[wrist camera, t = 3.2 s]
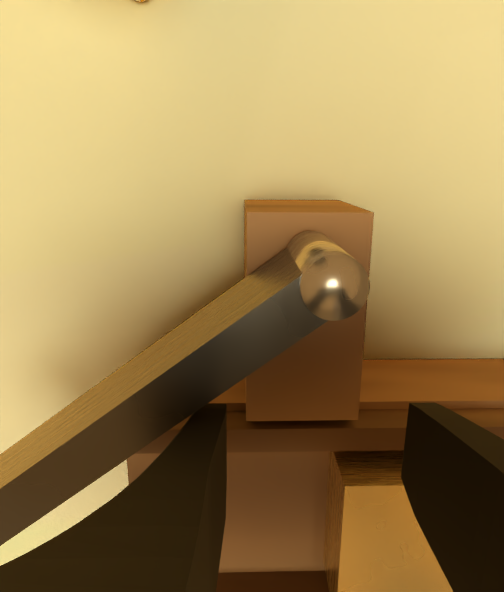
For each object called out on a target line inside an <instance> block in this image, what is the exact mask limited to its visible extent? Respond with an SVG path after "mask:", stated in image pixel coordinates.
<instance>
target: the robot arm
mask: <svg viewBox="0 0 504 592" xmlns="http://www.w3.org/2000/svg"><path fill="white" fill-rule="evenodd" d="M401 479H402V482H403V485H404V488H405V491H406V494H407V497H408V499H409V502H410V505H411V507H412V510H413V513H414V516H415V518H416V520H417V522H418V524H419V526H420V528H421V530H422V532H423V534H424V536H425V538H426V540H427V542H428V544H429V546H430V548H431V550H432V552H433V553H434V555H435V557H436V559H437V561H438V563H439V565H440V567H441V569H442V571H443V573H444V575H445V577H446V579H447V581H448V582H449V584H450V586H451V588H452V590H453V592H504V439H502V438H500V437H499V436H497V435H495V434H493V433H491V432H490V431H488V430H486V429H484V428H482V427H481V426H479V425H477V424H475V423H474V422H472V421H470V420H468V419H466V418H465V417H463V416H461V415H459V414H457V413H455V412H454V411H452V410H450V409H448V408H446V407H444V406H442V405H439V404H437V403H409V409H408V418H407V426H406V435H405V444H404V453H403V462H402V471H401ZM226 491H227V413H226V403H213V404H206V405H205V406H203V407H202V408H200V409H199V410H197V411H196V412H194V413H193V414H192V415H191V416H190V418H189V419H188V421H187V422H186V423H185V425H184V426H183V427H182V429H181V430H180V431H179V432H178V434H177V435H176V436H175V437H174V439H173V440H172V441H171V442H170V443H169V445H168V446H167V447H166V448H165V449H164V450H163V452H162V453H161V454H160V455H159V456H158V457H157V458H156V459H155V460H154V461H153V462H152V463H151V464H150V465H149V466H148V467H147V468H146V469H145V470H144V471H143V472H142V473H141V474H140V475H139V476H138V477H137V478H136V479H135V480H134V481H133V482H132V483H131V484H130V485H128V486H127V487H126V488H125V489H124V490H123V491H121V492H120V493H119V494H118V495H117V496H115V497H114V498H113V499H111V500H110V501H109V502H107V503H106V504H104V505H103V506H102V507H100V508H99V509H97V510H96V511H94V512H93V513H92V514H90V515H89V516H87V517H86V518H84V519H83V520H82V521H80V522H79V523H77V524H76V525H74V526H73V527H71V528H69V529H68V530H66V531H64V532H63V533H61V534H59V535H58V536H56V537H54V538H53V539H51V540H49V541H47V542H46V543H44V544H42V545H40V546H39V547H37V548H35V549H33V550H31V551H30V552H28V553H26V554H24V555H22V556H20V557H18V558H16V559H14V560H12V561H10V562H8V563H6V564H4V565H1V566H0V592H216V587H217V580H218V572H219V565H220V558H221V550H222V543H223V535H224V528H225V520H226Z"/></svg>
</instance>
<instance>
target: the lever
mask: <svg viewBox="0 0 504 592" xmlns="http://www.w3.org/2000/svg"><path fill="white" fill-rule="evenodd" d="M369 289H370V283H369V277H368V274H367V272H366V270H365V269H364V267H363V266H362V265H361V264H360V263H359V262H358V261H357V260H356V259H354V258H353V257H352V256H351V255H349V254H348V253H347V252H346V251H344V250H343V249H342V248H341V247H339V246H338V245H337V244H336V243H335V242H333V241H332V240H331V239H330V238H328V237H327V236H326V235H324V234H323V233H320V232H317V231H305V232H302V233H300V234H298V235H296V236H295V237H294V238H293V239H292V240H291V241H290V242H289V244H288V246H287V248H285V249H284V250H282V251H281V252H280V253H278V254H277V255H276V256H274V257H273V258H271V259H270V260H269V261H267V262H266V263H264V264H263V265H262V266H260V267H259V268H258V269H256V270H255V271H253V272H252V273H251V274H249V275H248V276H247V277H245V278H244V279H242V280H241V281H240V282H238V283H237V284H235V285H234V286H233V287H231V288H230V289H229V290H227V291H226V292H224V293H223V294H222V295H220V296H219V297H217V298H216V299H215V300H213V301H212V302H211V303H209V304H208V305H206V306H205V307H204V308H202V309H201V310H199V311H198V312H197V313H195V314H194V315H193V316H191V317H190V318H188V319H187V320H186V321H184V322H183V323H181V324H180V325H179V326H177V327H176V328H175V329H173V330H172V331H170V332H169V333H168V334H166V335H165V336H163V337H162V338H161V339H159V340H158V341H157V342H155V343H154V344H152V345H151V346H150V347H148V348H147V349H146V350H144V351H143V352H141V353H140V354H139V355H137V356H136V357H134V358H133V359H132V360H130V361H129V362H128V363H126V364H125V365H123V366H122V367H121V368H119V369H118V370H116V371H115V372H114V373H112V374H111V375H110V376H108V377H107V378H105V379H104V380H103V381H101V382H100V383H98V384H97V385H96V386H94V387H93V388H92V389H90V390H89V391H87V392H86V393H85V394H83V395H82V396H80V397H79V398H78V399H76V400H75V401H74V402H72V403H71V404H69V405H68V406H67V407H65V408H64V409H62V410H61V411H60V412H58V413H57V414H56V415H54V416H53V417H51V418H50V419H49V420H47V421H46V422H45V423H43V424H42V425H40V426H39V427H38V428H36V429H35V430H33V431H32V432H31V433H29V434H28V435H27V436H25V437H24V438H22V439H21V440H20V441H18V442H17V443H15V444H14V445H13V446H11V447H10V448H9V449H7V450H6V451H4V452H3V453H2V454H0V546H1V545H2V544H4V543H5V542H6V541H8V540H9V539H11V538H12V537H14V536H15V535H17V534H18V533H20V532H21V531H22V530H24V529H25V528H27V527H28V526H30V525H31V524H33V523H34V522H36V521H37V520H39V519H40V518H41V517H43V516H44V515H46V514H47V513H49V512H50V511H52V510H53V509H55V508H56V507H57V506H59V505H60V504H62V503H63V502H65V501H66V500H68V499H69V498H71V497H72V496H73V495H75V494H76V493H78V492H79V491H81V490H82V489H84V488H85V487H87V486H88V485H90V484H91V483H92V482H94V481H95V480H97V479H98V478H100V477H101V476H103V475H104V474H106V473H107V472H108V471H110V470H111V469H113V468H114V467H116V466H117V465H119V464H120V463H122V462H123V461H125V460H126V459H127V458H129V457H130V456H132V455H133V454H135V453H136V452H138V451H139V450H141V449H142V448H143V447H145V446H146V445H148V444H149V443H151V442H152V441H154V440H155V439H157V438H158V437H159V436H161V435H162V434H164V433H165V432H167V431H168V430H170V429H171V428H173V427H174V426H176V425H177V424H178V423H180V422H181V421H183V420H184V419H186V418H187V417H189V416H190V415H192V414H193V413H194V412H196V411H197V410H199V409H200V408H202V407H203V406H205V405H206V404H208V403H209V402H211V401H212V400H213V399H215V398H216V397H218V396H219V395H221V394H222V393H224V392H225V391H227V390H228V389H229V388H231V387H232V386H234V385H235V384H237V383H238V382H240V381H241V380H243V379H244V378H245V377H247V376H248V375H250V374H251V373H253V372H254V371H256V370H257V369H259V368H260V367H262V366H263V365H264V364H266V363H267V362H269V361H270V360H272V359H273V358H275V357H276V356H278V355H279V354H280V353H282V352H283V351H285V350H286V349H288V348H289V347H291V346H292V345H294V344H295V343H297V342H298V341H299V340H301V339H302V338H304V337H305V336H307V335H308V334H310V333H311V332H313V331H314V330H315V329H317V328H318V327H320V326H321V325H323V324H324V323H326V322H327V321H329V320H330V321H338V320H343V319H346V318H348V317H351V316H352V315H354V314H355V313H357V312H358V311H359V310H360V309H361V308H362V306H363V305H364V304H365V302H366V300H367V298H368V294H369Z"/></svg>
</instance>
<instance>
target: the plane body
mask: <svg viewBox="0 0 504 592" xmlns="http://www.w3.org/2000/svg"><path fill="white" fill-rule="evenodd" d="M373 217H374V213H373V212H370V211H368V210H365V209H362V208H359V207H356V206H353V205H351V204H348V203H345V202H342V201H339V200H245V218H244V278H245V277H247V276H248V275H249V274H251V273H252V272H253V271H255V270H256V269H258V268H259V267H260V266H262V265H263V264H264V263H266V262H267V261H269V260H270V259H271V258H273V257H274V256H276V255H277V254H278V253H280V252H281V251H282V250H284V249H285V248H287V246H288V244H289V242H290V241H291V240H292V239H293V238H294V237H295V236H296V235H298V234H300V233H302V232H305V231H317V232H320V233H323V234H324V235H326V236H327V237H328V238H330V239H331V240H332V241H333V242H335V243H336V244H337V245H338V246H339V247H341V248H342V249H343V250H344V251H346V252H347V253H348V254H349V255H351V256H352V257H353V258H354V259H356V260H357V261H358V262H359V263H360V264H361V265H362V266H363V267H364V269H365V270H366V272H367V274H368V277H369V270H370V256H371V243H372V230H373ZM366 309H367V300H366V302H365V304H364V305H363V306H362V308H361V309H360V310H359V311H358V312H357V313H355V314H354V315H352V316H351V317H348V318H346V319H343V320H338V321H330V320H329V321H327V322H326V323H324V324H323V325H321V326H320V327H318V328H317V329H315V330H314V331H313V332H311V333H310V334H308V335H307V336H305V337H304V338H302V339H301V340H299V341H298V342H297V343H295V344H294V345H292V346H291V347H289V348H288V349H286V350H285V351H283V352H282V353H280V354H279V355H278V356H276V357H275V358H273V359H272V360H270V361H269V362H267V363H266V364H264V365H263V366H262V367H260V368H259V369H257V370H256V371H254V372H253V373H251V374H250V375H248V376H247V377H245V378H244V379H243V380H241V381H240V382H238V383H237V384H235V385H234V386H232V387H231V388H229V389H228V390H227V391H225V392H224V393H222V394H221V395H219V396H218V397H216V398H215V399H213V400H212V401H211V402H209V403H208V404H213V403H226V413H227V491H226V520H225V528H224V535H223V543H222V550H221V558H220V565H219V572H218V580H217V587H216V592H329V587H328V583H327V578H326V573H325V569H324V564H323V554H324V537H325V520H326V502H327V485H328V468H329V451H396V450H404V444H405V435H406V426H407V418H408V409H409V403H437V404H439V405H442V406H444V407H446V408H448V409H450V410H452V411H454V412H455V413H457V414H459V415H461V416H463V417H465V418H466V419H468V420H470V421H472V422H474V423H475V424H477V425H479V426H481V427H482V428H484V429H486V430H488V431H490V432H491V433H493V434H495V435H497V436H499V437H500V438H502V439H504V359H409V360H363V349H364V336H365V323H366ZM190 416H191V415H190ZM190 416H189V417H187V418H186V419H184V420H183V421H181V422H180V423H178V424H177V425H176V426H174V427H173V428H171V429H170V430H168V431H167V432H165V433H164V434H162V435H161V436H159V437H158V438H157V439H155V440H154V441H152V442H151V443H149V444H148V445H146V446H145V447H143V448H142V449H141V450H139V451H138V452H136V453H135V454H133V455H132V456H130V457H129V458H127V466H128V479H129V485H130V484H131V483H132V482H133V481H134V480H135V479H136V478H137V477H138V476H139V475H140V474H141V473H142V472H143V471H144V470H145V469H146V468H147V467H148V466H149V465H150V464H151V463H152V462H153V461H154V460H155V459H156V458H157V457H158V456H159V455H160V454H161V453H162V452H163V450H164V449H165V448H166V447H167V446H168V445H169V443H170V442H171V441H172V440H173V439H174V437H175V436H176V435H177V434H178V432H179V431H180V430H181V429H182V427H183V426H184V425H185V423H186V422H187V421H188V419H189V418H190Z"/></svg>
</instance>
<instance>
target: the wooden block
mask: <svg viewBox="0 0 504 592" xmlns="http://www.w3.org/2000/svg"><path fill="white" fill-rule="evenodd" d="M403 453H404V450H396V451H329V468H328V485H327V502H326V520H325V537H324V554H323V564H324V569H325V573H326V578H327V583H328V587H329V592H453V590H452V588H451V586H450V584H449V582H448V581H447V579H446V577H445V575H444V573H443V571H442V569H441V567H440V565H439V563H438V561H437V559H436V557H435V555H434V553H433V552H432V550H431V548H430V546H429V544H428V542H427V540H426V538H425V536H424V534H423V532H422V530H421V528H420V526H419V524H418V522H417V520H416V518H415V516H414V513H413V510H412V507H411V505H410V502H409V499H408V497H407V494H406V491H405V488H404V485H403V482H402V479H401V471H402V462H403Z"/></svg>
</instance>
